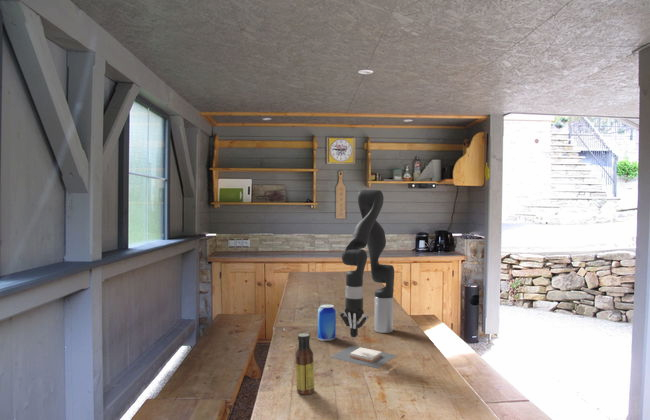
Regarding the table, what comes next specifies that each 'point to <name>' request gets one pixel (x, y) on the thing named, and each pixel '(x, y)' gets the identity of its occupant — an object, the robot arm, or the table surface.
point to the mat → (377, 363)
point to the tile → (365, 354)
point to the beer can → (326, 322)
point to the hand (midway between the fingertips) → (353, 336)
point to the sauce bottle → (304, 366)
